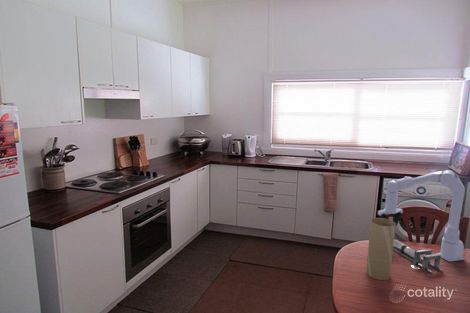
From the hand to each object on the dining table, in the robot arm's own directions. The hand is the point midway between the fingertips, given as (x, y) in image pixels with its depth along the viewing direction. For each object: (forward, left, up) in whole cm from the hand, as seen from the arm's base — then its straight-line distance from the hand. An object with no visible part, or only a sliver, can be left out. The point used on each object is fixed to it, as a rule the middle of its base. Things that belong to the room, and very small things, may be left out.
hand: (388, 226), depth 175 cm
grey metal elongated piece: (0, +13, -9) cm, 16 cm away
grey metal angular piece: (+2, +20, -9) cm, 22 cm away
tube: (+27, +26, -10) cm, 39 cm away
